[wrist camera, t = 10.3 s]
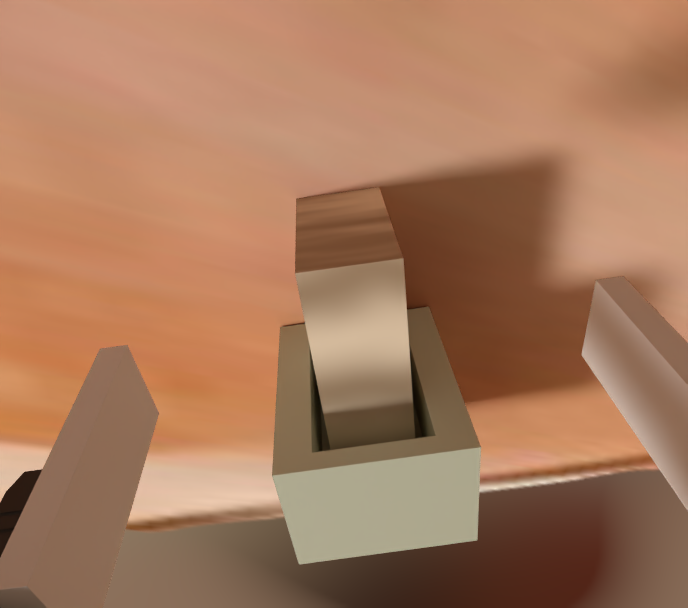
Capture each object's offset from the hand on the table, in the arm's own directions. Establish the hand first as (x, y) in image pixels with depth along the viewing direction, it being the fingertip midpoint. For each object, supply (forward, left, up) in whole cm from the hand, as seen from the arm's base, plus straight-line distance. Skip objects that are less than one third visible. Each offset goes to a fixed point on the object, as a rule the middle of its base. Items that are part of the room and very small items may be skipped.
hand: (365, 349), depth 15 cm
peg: (+9, 0, -18) cm, 20 cm away
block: (+15, 0, -18) cm, 24 cm away
